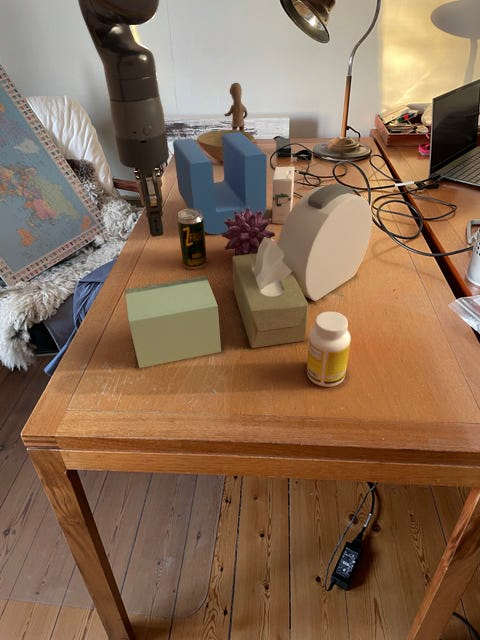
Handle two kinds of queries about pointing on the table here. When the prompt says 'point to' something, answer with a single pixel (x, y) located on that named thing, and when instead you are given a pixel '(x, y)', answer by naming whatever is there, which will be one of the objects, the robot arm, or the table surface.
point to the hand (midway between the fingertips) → (157, 234)
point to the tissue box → (269, 297)
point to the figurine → (237, 108)
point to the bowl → (217, 142)
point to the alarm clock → (325, 238)
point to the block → (233, 192)
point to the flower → (246, 232)
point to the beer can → (192, 238)
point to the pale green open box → (173, 321)
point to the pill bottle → (328, 349)
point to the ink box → (282, 194)
